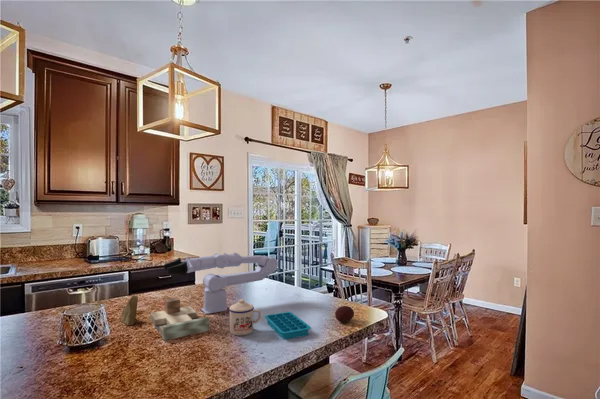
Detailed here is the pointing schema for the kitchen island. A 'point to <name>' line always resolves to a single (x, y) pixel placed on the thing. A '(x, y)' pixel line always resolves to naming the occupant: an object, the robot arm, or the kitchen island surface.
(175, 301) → the block
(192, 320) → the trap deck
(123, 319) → the rock
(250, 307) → the teacup with lid
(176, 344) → the kitchen island surface
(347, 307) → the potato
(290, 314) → the ice cube tray
